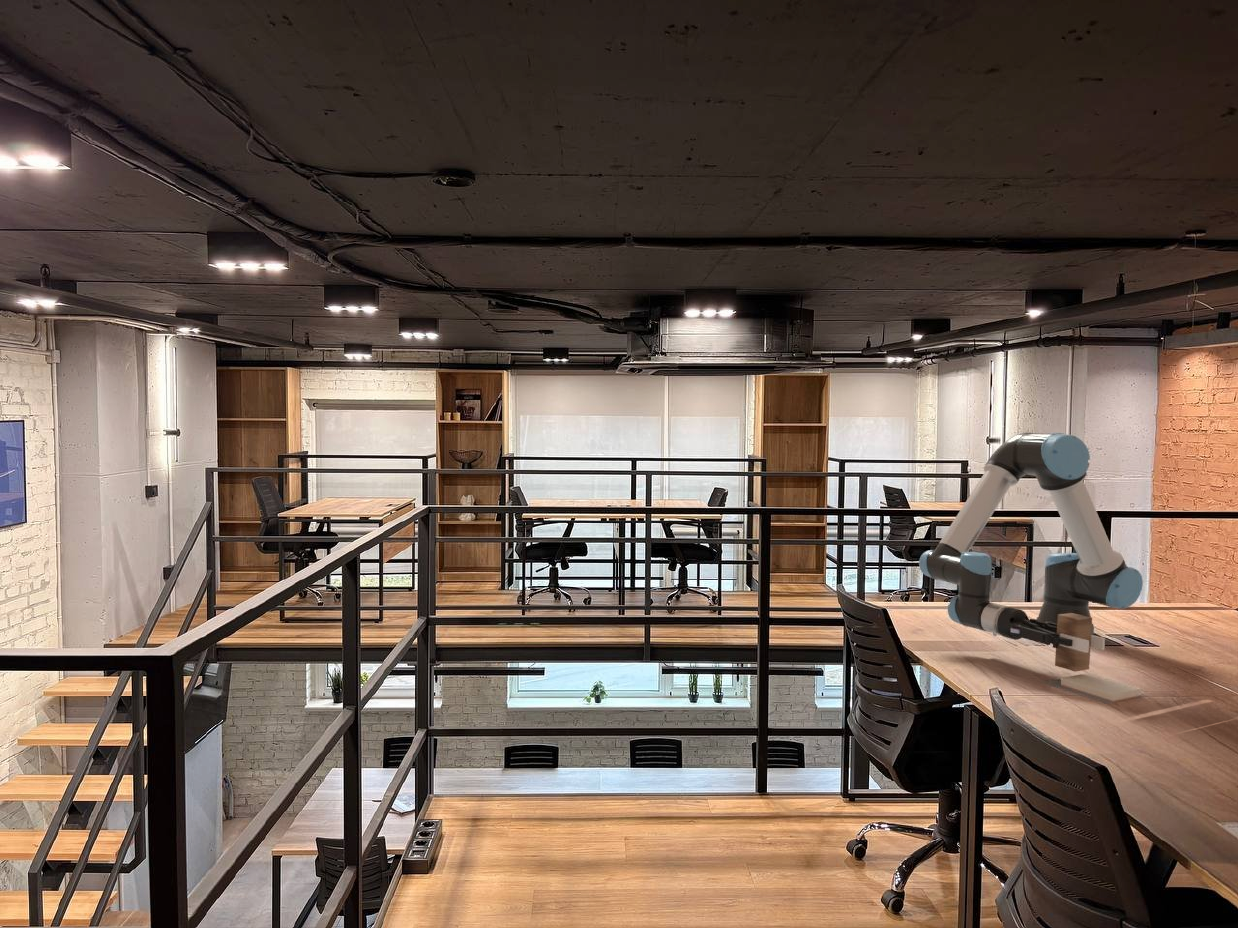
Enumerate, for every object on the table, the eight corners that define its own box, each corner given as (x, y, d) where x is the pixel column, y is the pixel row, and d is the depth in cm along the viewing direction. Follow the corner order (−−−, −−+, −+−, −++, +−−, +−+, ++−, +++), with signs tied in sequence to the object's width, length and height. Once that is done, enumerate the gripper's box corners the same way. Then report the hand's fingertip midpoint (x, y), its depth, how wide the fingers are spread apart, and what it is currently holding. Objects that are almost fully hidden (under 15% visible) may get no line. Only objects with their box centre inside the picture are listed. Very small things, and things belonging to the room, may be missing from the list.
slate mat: (1043, 685, 189) (1043, 682, 189) (1082, 678, 195) (1082, 675, 195) (1107, 706, 175) (1108, 703, 175) (1147, 697, 182) (1147, 695, 182)
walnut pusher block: (1054, 665, 191) (1057, 614, 191) (1068, 663, 194) (1071, 612, 193) (1075, 671, 187) (1078, 619, 186) (1089, 669, 189) (1092, 617, 188)
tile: (1061, 677, 187) (1113, 694, 176) (1088, 672, 192) (1141, 688, 181) (1060, 685, 187) (1112, 702, 177) (1088, 680, 192) (1140, 696, 181)
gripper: (1028, 632, 210) (1119, 657, 189) (980, 639, 202) (1069, 666, 181) (1030, 603, 210) (1121, 625, 189) (981, 609, 201) (1071, 632, 181)
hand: (1095, 645), depth 185 cm, fingers closed on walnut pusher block, 5 cm apart
